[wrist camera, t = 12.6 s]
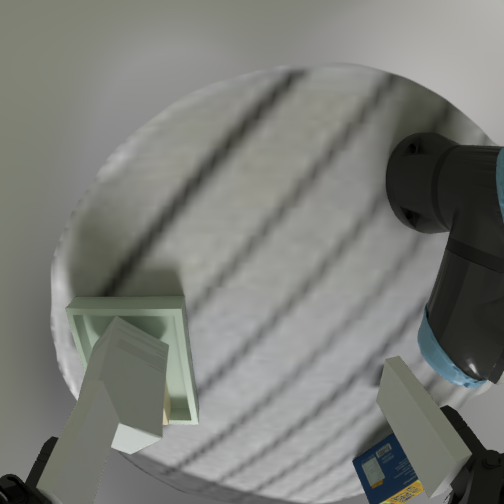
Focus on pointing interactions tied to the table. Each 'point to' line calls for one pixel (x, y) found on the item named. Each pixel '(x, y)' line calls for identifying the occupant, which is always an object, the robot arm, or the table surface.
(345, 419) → the table surface
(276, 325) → the table surface
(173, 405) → the green tray
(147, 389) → the supplement box
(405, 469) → the protein box
